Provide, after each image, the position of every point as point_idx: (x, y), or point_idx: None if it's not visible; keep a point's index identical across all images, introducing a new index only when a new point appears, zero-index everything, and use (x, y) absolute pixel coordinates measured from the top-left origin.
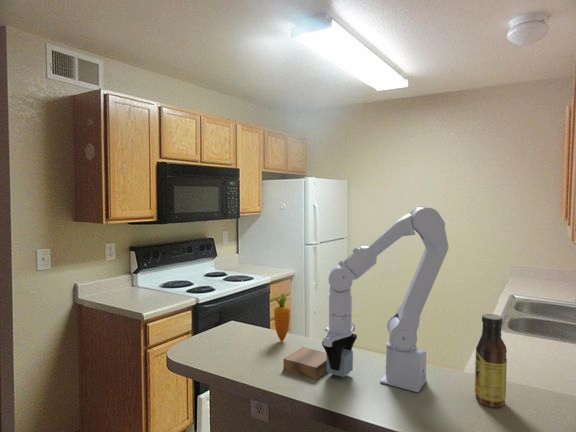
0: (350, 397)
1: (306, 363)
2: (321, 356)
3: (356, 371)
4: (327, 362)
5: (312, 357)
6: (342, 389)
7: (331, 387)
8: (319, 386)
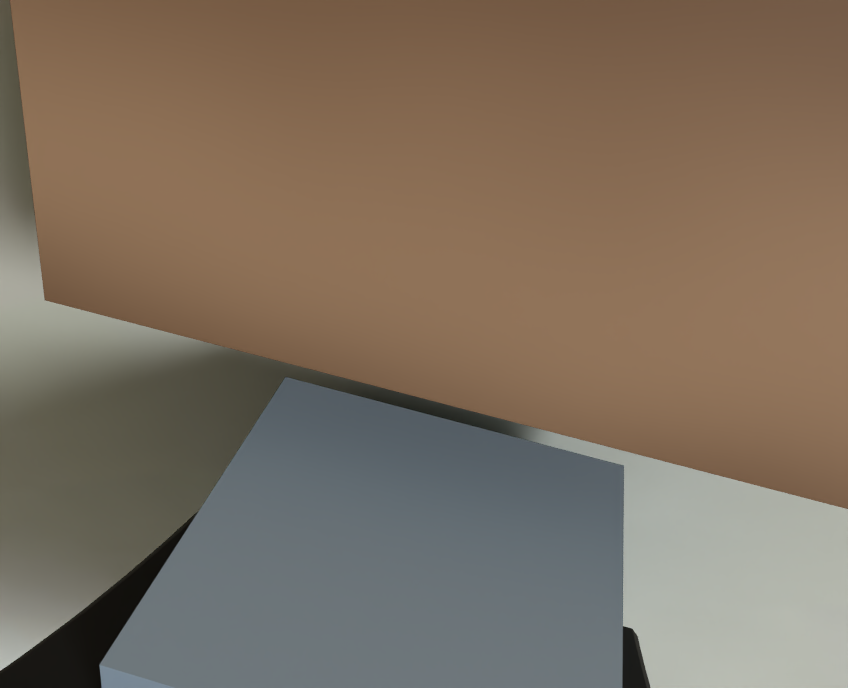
0: (29, 607)
1: (88, 21)
2: (677, 270)
3: (678, 654)
4: (205, 512)
5: (521, 50)
6: (122, 540)
7: (87, 434)
8: (13, 299)
